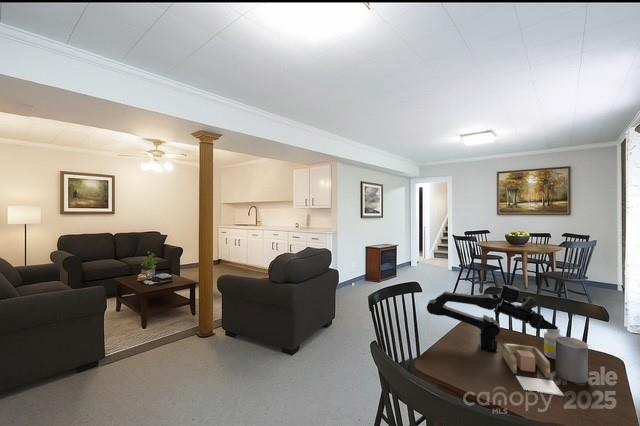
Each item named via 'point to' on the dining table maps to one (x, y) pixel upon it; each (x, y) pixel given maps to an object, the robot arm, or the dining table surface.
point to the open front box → (511, 350)
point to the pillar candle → (572, 359)
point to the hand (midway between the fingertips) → (554, 326)
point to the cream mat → (539, 385)
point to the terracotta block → (525, 360)
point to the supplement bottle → (551, 342)
